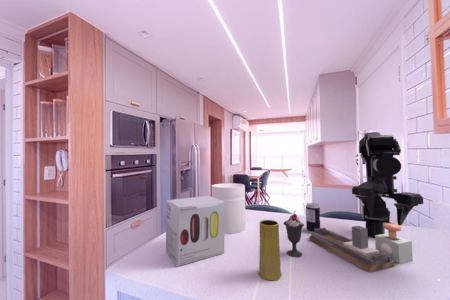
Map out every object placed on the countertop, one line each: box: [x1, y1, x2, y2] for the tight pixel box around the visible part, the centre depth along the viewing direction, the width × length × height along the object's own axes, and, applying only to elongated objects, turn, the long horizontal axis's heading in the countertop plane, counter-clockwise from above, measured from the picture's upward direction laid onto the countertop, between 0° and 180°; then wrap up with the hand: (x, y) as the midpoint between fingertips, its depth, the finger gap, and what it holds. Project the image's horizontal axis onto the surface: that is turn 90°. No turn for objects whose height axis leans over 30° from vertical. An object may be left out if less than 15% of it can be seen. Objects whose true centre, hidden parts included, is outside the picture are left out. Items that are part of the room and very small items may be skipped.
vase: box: [258, 219, 282, 281], centre depth 56 cm, size 6×6×14 cm
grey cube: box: [374, 232, 414, 265], centre depth 64 cm, size 6×7×6 cm
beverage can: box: [305, 202, 321, 233], centre depth 88 cm, size 6×6×12 cm
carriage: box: [343, 225, 379, 259], centre depth 64 cm, size 5×8×8 cm, turn 17°
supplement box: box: [165, 195, 225, 268], centre depth 70 cm, size 17×13×18 cm
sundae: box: [283, 210, 305, 258], centre depth 67 cm, size 7×7×15 cm
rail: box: [309, 227, 395, 273], centre depth 69 cm, size 10×24×4 cm, turn 17°
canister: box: [211, 182, 246, 235], centre depth 94 cm, size 16×16×20 cm
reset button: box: [383, 222, 402, 241], centre depth 65 cm, size 4×4×5 cm
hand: (384, 220), depth 65 cm, fingers open, 9 cm apart
